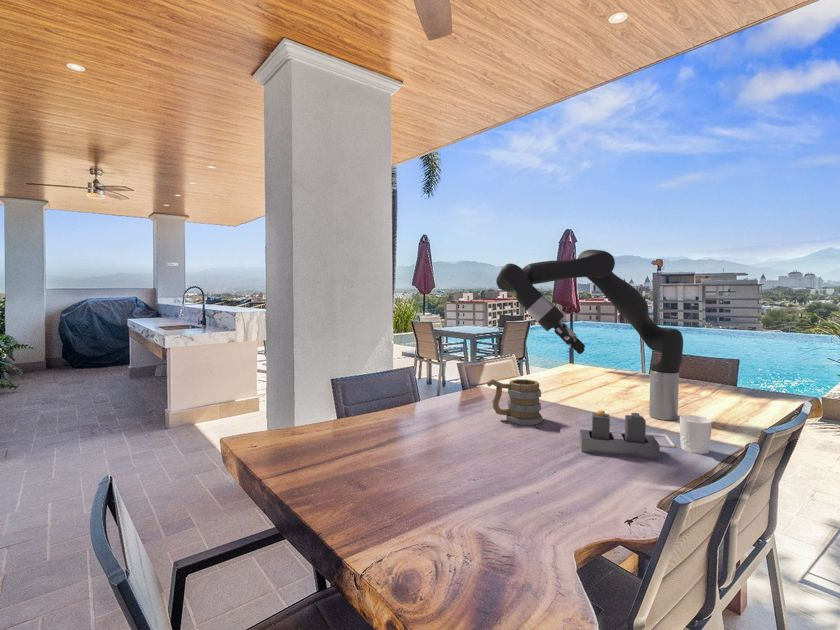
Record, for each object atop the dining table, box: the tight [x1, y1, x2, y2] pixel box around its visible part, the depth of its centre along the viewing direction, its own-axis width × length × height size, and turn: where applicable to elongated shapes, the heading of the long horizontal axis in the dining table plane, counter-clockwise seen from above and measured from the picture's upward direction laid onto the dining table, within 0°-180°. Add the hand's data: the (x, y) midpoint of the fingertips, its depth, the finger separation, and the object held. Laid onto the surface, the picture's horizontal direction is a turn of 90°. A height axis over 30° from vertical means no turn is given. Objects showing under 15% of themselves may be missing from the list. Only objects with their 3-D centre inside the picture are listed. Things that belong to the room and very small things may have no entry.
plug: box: [591, 409, 611, 440], centre depth 124 cm, size 4×4×11 cm
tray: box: [645, 432, 676, 449], centre depth 131 cm, size 10×10×2 cm
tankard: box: [486, 378, 544, 426], centre depth 155 cm, size 20×13×15 cm, turn 84°
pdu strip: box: [579, 429, 661, 461], centre depth 123 cm, size 8×20×5 cm, turn 73°
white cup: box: [679, 414, 713, 455], centre depth 123 cm, size 8×8×10 cm
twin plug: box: [624, 412, 647, 443], centre depth 121 cm, size 4×4×11 cm
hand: (582, 350), depth 132 cm, fingers open, 8 cm apart
